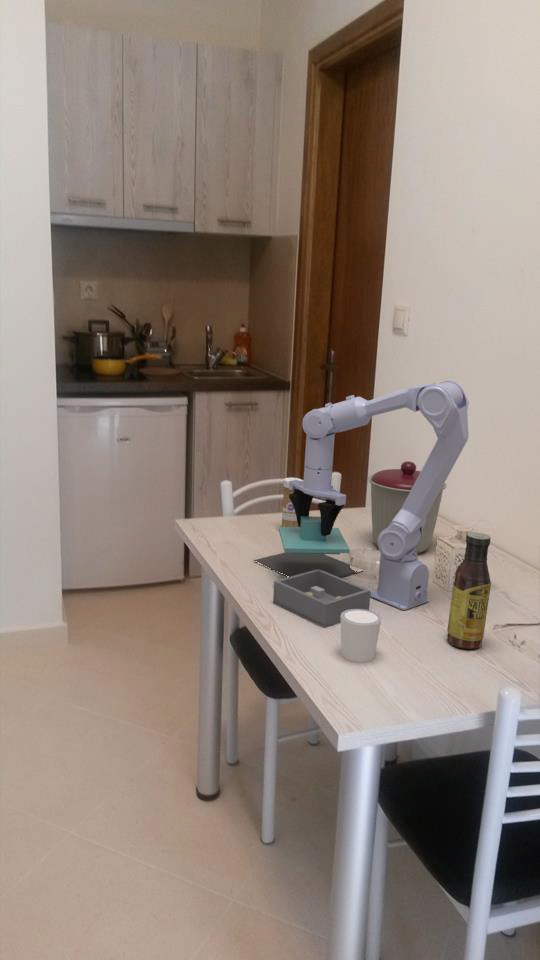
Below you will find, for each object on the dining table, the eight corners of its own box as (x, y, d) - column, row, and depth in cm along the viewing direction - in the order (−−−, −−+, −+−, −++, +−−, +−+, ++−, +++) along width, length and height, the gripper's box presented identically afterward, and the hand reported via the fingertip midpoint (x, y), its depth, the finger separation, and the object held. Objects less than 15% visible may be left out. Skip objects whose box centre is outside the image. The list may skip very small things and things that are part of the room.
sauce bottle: (466, 654, 137) (479, 543, 133) (438, 640, 142) (450, 533, 138) (490, 645, 141) (504, 537, 137) (463, 632, 146) (475, 528, 141)
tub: (368, 612, 153) (370, 590, 152) (324, 627, 145) (325, 604, 144) (317, 589, 163) (318, 568, 162) (272, 603, 155) (274, 581, 154)
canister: (392, 531, 205) (399, 450, 200) (454, 549, 192) (463, 464, 187) (347, 545, 192) (354, 459, 187) (410, 566, 180) (419, 474, 175)
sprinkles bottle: (282, 534, 198) (285, 481, 195) (279, 528, 202) (282, 476, 199) (300, 534, 199) (303, 481, 195) (297, 528, 203) (300, 477, 200)
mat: (363, 571, 175) (363, 569, 175) (310, 586, 164) (310, 585, 164) (305, 548, 188) (306, 547, 188) (253, 561, 177) (253, 560, 177)
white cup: (329, 653, 135) (331, 614, 134) (355, 642, 140) (358, 604, 138) (360, 668, 131) (364, 628, 129) (386, 656, 135) (390, 617, 134)
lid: (349, 557, 161) (350, 530, 159) (284, 556, 160) (285, 529, 158) (338, 534, 175) (339, 510, 174) (278, 533, 174) (279, 508, 173)
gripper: (358, 471, 161) (353, 536, 164) (307, 457, 171) (303, 518, 175) (333, 476, 156) (329, 542, 160) (283, 461, 167) (279, 524, 170)
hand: (314, 530), depth 167 cm, fingers closed on lid, 6 cm apart
